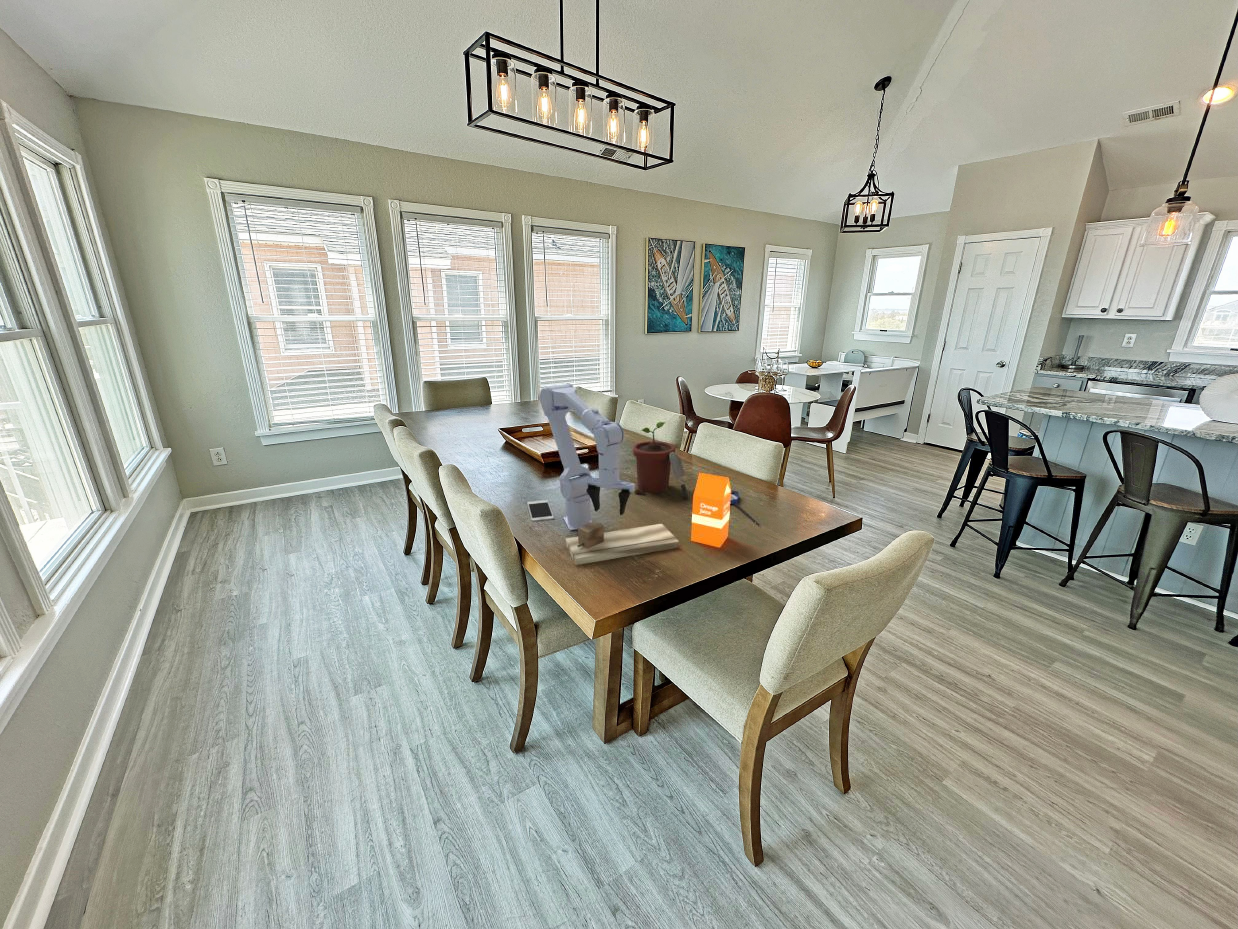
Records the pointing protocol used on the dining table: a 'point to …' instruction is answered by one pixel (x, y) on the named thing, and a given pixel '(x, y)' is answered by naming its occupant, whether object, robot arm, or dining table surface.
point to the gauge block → (590, 534)
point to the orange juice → (711, 510)
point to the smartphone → (540, 510)
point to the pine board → (624, 544)
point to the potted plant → (656, 465)
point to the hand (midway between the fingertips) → (609, 511)
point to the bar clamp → (734, 501)
